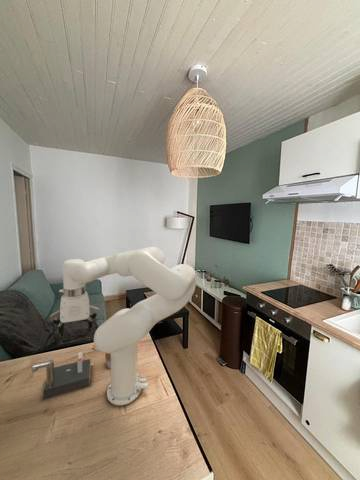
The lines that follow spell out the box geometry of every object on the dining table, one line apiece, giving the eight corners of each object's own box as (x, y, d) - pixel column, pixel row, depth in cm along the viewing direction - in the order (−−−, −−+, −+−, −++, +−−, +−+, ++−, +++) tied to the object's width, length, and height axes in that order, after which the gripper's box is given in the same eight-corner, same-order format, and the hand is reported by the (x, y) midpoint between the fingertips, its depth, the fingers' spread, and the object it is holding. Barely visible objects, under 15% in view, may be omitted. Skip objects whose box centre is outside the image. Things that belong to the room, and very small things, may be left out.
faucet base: (94, 365, 86) (94, 357, 86) (94, 384, 76) (93, 376, 76) (50, 376, 80) (50, 367, 80) (43, 398, 70) (43, 389, 70)
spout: (55, 380, 74) (54, 357, 73) (54, 385, 72) (52, 362, 70) (34, 386, 71) (32, 362, 70) (32, 391, 69) (30, 367, 68)
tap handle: (79, 362, 83) (78, 351, 82) (83, 361, 83) (82, 350, 83) (77, 373, 77) (77, 361, 77) (82, 372, 78) (81, 359, 77)
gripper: (46, 297, 69) (48, 342, 71) (98, 291, 76) (99, 332, 78) (50, 290, 76) (53, 331, 78) (98, 285, 83) (99, 323, 85)
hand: (76, 331), depth 78 cm, fingers open, 9 cm apart
